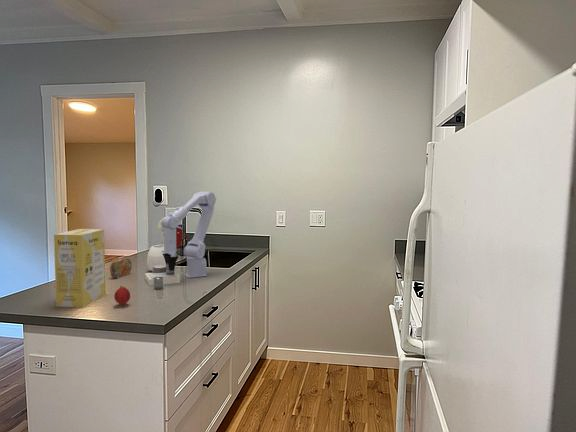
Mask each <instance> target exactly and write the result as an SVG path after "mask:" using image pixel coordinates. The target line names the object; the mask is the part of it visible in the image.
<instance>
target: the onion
mask: <svg viewBox="0 0 576 432" xmlns="http://www.w3.org/2000/svg"><path fill="white" fill-rule="evenodd" d="M113 297H114V301H115V302H116V303H117V304H119V305H120V306H122V307H123V306H125V305H126V304H127V303H128V302H129V301H130V299H131V291H130V290H129V289H127V288H126V287H125V286H124V285H120V286H119V288H118V289H117V290H116V291H115V293H114V296H113Z"/></svg>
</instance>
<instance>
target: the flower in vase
mask: <svg viewBox="0 0 576 432" xmlns="http://www.w3.org/2000/svg"><path fill="white" fill-rule="evenodd" d="M163 218H164V217H162V218H161V219H160V220H159V222H158V224H157V229H158V230H161V231H162V234H161V233H160V237H161V239H162V245H164V230H163V227H162V225H161V222H162V219H163Z"/></svg>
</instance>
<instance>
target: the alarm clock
mask: <svg viewBox="0 0 576 432" xmlns="http://www.w3.org/2000/svg"><path fill="white" fill-rule="evenodd" d="M182 229H183V228H182V220H181V221H180V223H179V225H178V227H177V228H176V249H179V248H181V247H182V246H181V241H182ZM187 239H188V235H187V234H186V240H187Z"/></svg>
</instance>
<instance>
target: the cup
mask: <svg viewBox="0 0 576 432" xmlns="http://www.w3.org/2000/svg"><path fill="white" fill-rule="evenodd" d="M162 250H164V245H163V244H157V245H152V246H151V247H150V248H149V250H148V252H147V257H146V265H147V268H148V269H149V270H150V271H151V272H153V268H152V267H155V266H160V265H163V266H166V262H165V259H164V256H163V254H164V253H162V252H161V251H162Z"/></svg>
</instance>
